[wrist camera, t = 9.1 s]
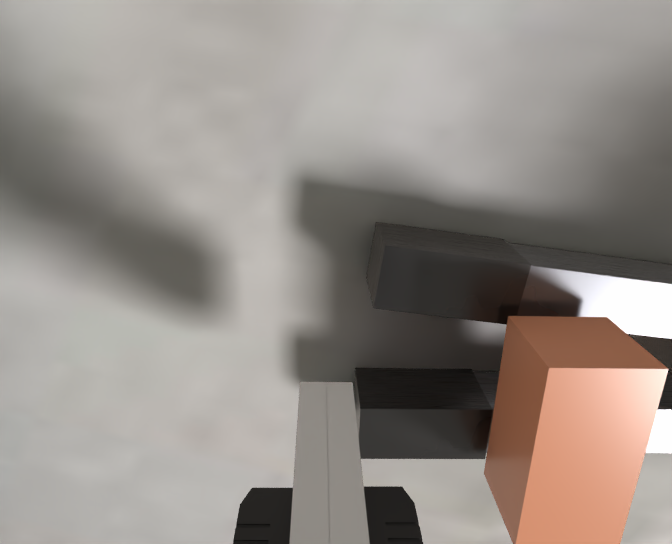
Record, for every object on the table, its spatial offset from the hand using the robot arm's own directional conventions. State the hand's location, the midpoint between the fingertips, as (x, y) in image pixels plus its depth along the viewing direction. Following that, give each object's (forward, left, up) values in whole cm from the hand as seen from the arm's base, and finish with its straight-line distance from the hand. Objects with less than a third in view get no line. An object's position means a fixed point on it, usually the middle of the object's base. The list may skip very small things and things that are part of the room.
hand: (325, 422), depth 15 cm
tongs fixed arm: (+9, -2, -4) cm, 10 cm away
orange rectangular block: (+7, 0, -1) cm, 7 cm away
